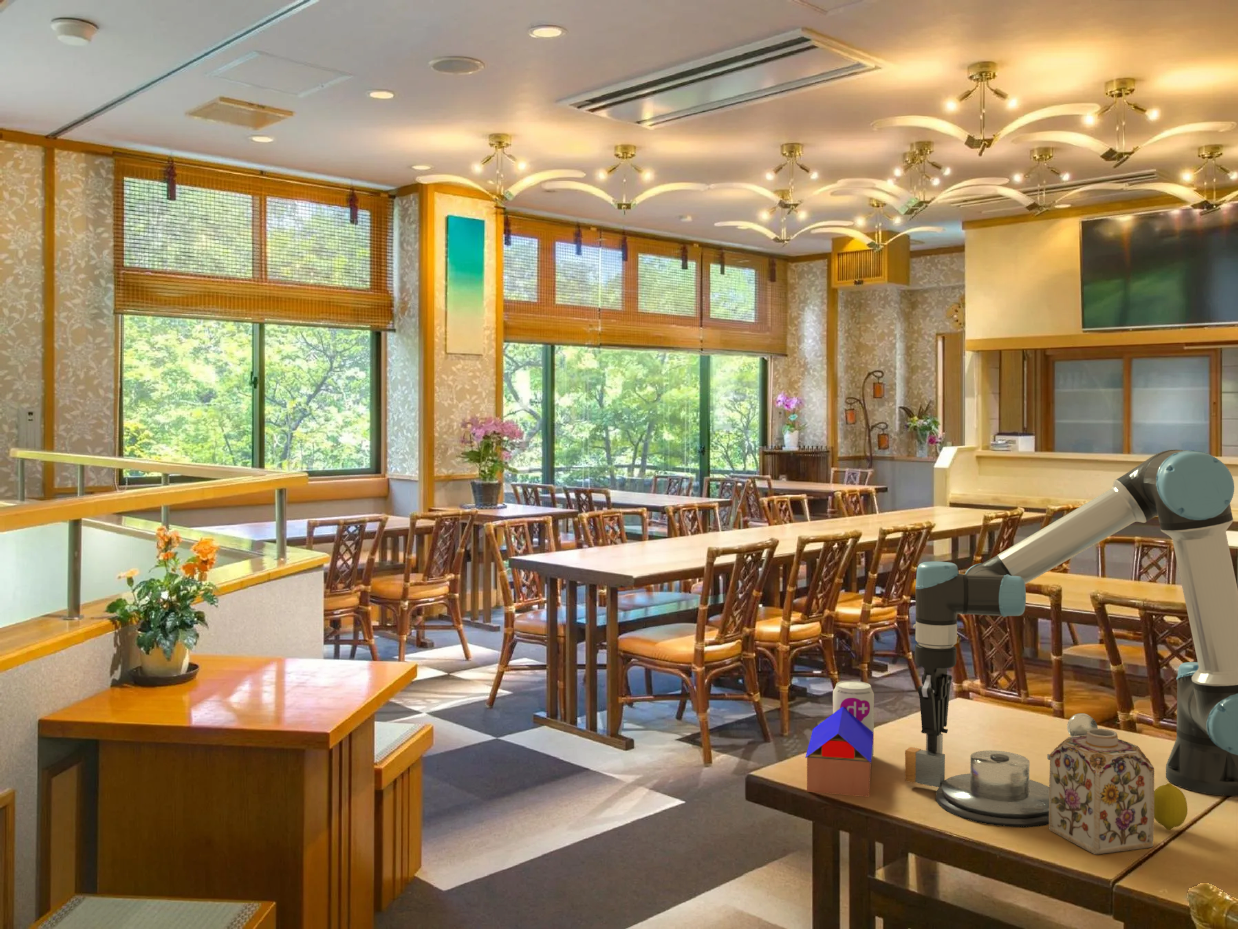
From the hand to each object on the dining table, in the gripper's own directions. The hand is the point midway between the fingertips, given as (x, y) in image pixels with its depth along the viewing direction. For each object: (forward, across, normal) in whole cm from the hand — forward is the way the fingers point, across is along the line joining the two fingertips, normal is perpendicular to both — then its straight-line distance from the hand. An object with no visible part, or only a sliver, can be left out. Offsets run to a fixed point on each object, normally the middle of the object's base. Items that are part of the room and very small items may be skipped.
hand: (934, 767), depth 204 cm
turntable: (+2, +3, +9) cm, 10 cm away
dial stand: (+4, -6, +23) cm, 24 cm away
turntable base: (+3, +3, +13) cm, 14 cm away
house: (+4, +5, -17) cm, 18 cm away
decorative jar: (+4, +10, +31) cm, 33 cm away
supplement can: (+4, -8, -20) cm, 22 cm away
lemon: (+4, 0, +40) cm, 40 cm away
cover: (+1, +4, +13) cm, 14 cm away
